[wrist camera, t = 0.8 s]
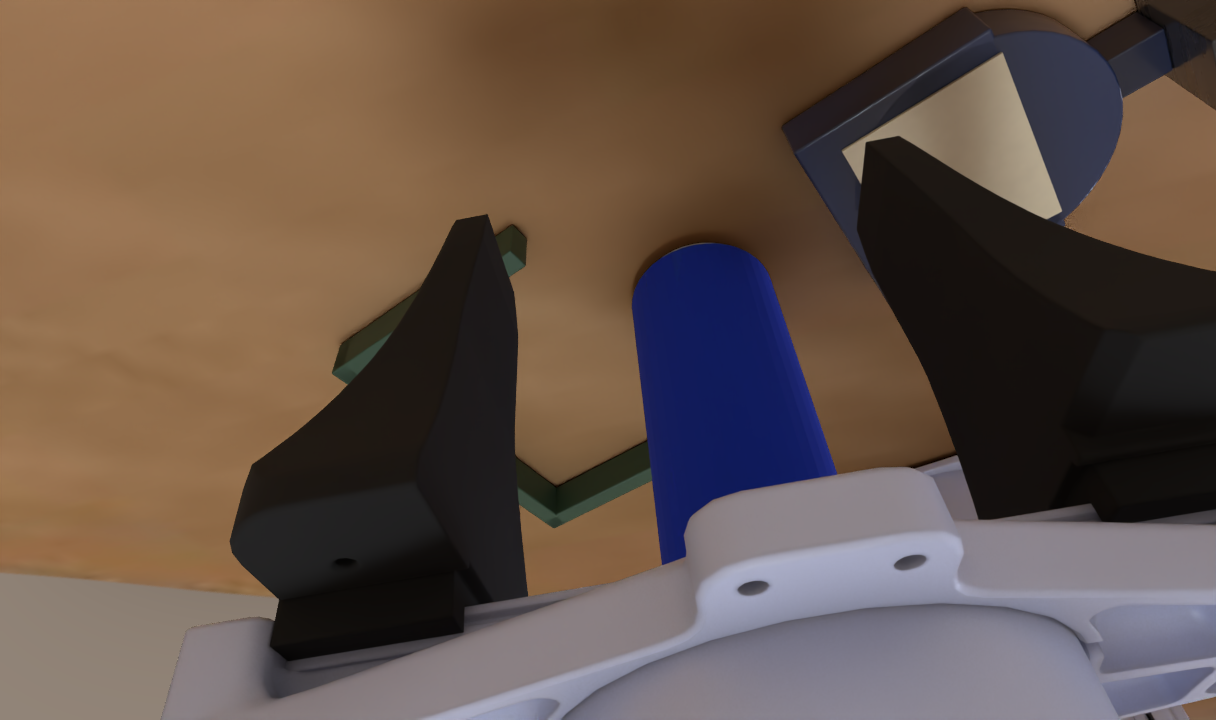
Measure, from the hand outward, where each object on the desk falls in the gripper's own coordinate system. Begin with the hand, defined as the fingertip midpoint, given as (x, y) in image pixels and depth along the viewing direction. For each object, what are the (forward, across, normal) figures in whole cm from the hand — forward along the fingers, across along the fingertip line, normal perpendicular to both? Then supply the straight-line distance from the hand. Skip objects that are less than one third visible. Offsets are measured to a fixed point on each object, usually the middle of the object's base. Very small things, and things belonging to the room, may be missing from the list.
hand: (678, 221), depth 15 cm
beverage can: (+9, -1, +10) cm, 14 cm away
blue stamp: (+9, -13, +5) cm, 16 cm away
